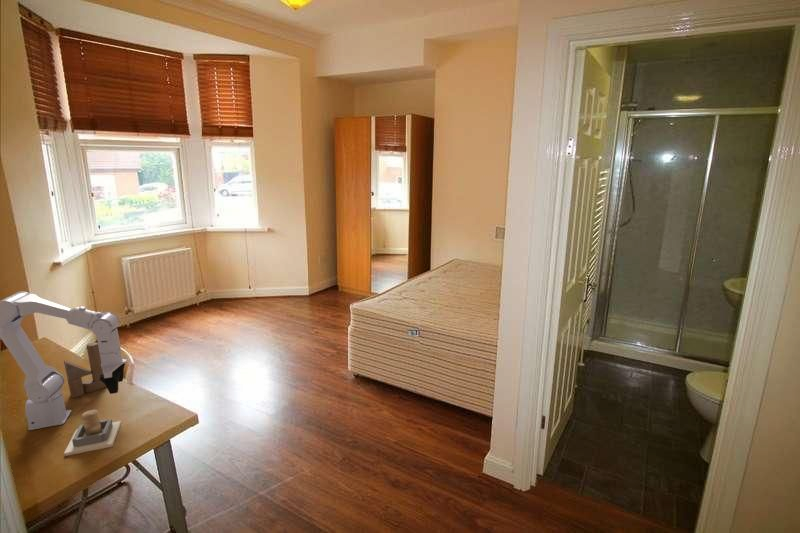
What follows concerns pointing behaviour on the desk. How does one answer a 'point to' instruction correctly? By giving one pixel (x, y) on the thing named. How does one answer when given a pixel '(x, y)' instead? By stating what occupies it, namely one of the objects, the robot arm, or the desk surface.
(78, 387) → the wooden block
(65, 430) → the desk surface
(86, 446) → the cup bracket
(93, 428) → the rail end peg
